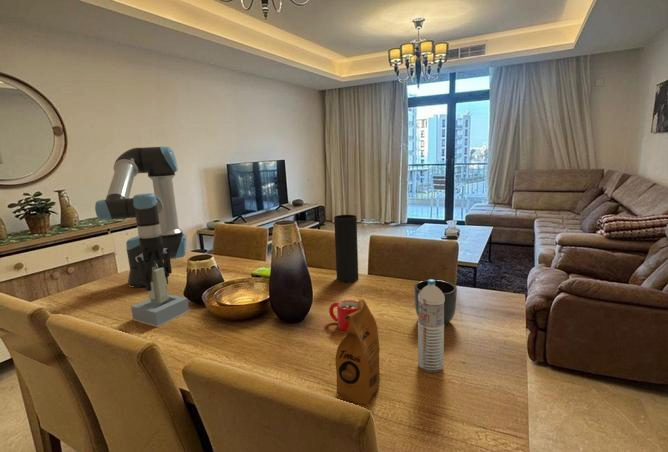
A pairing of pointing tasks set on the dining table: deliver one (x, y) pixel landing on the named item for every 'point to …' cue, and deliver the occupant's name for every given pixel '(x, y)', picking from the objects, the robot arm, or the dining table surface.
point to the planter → (449, 293)
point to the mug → (343, 312)
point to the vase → (346, 248)
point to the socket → (160, 310)
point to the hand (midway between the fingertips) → (158, 295)
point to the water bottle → (431, 328)
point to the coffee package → (358, 357)
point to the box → (159, 285)
